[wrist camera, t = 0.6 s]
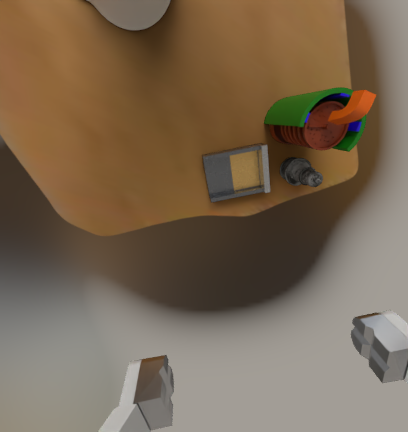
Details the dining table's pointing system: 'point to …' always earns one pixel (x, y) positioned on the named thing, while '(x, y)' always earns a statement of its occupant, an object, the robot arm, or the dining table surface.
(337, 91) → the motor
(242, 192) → the grey open frame
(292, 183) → the grey tall turned piece
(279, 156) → the dining table surface
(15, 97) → the dining table surface
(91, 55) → the dining table surface
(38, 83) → the dining table surface
